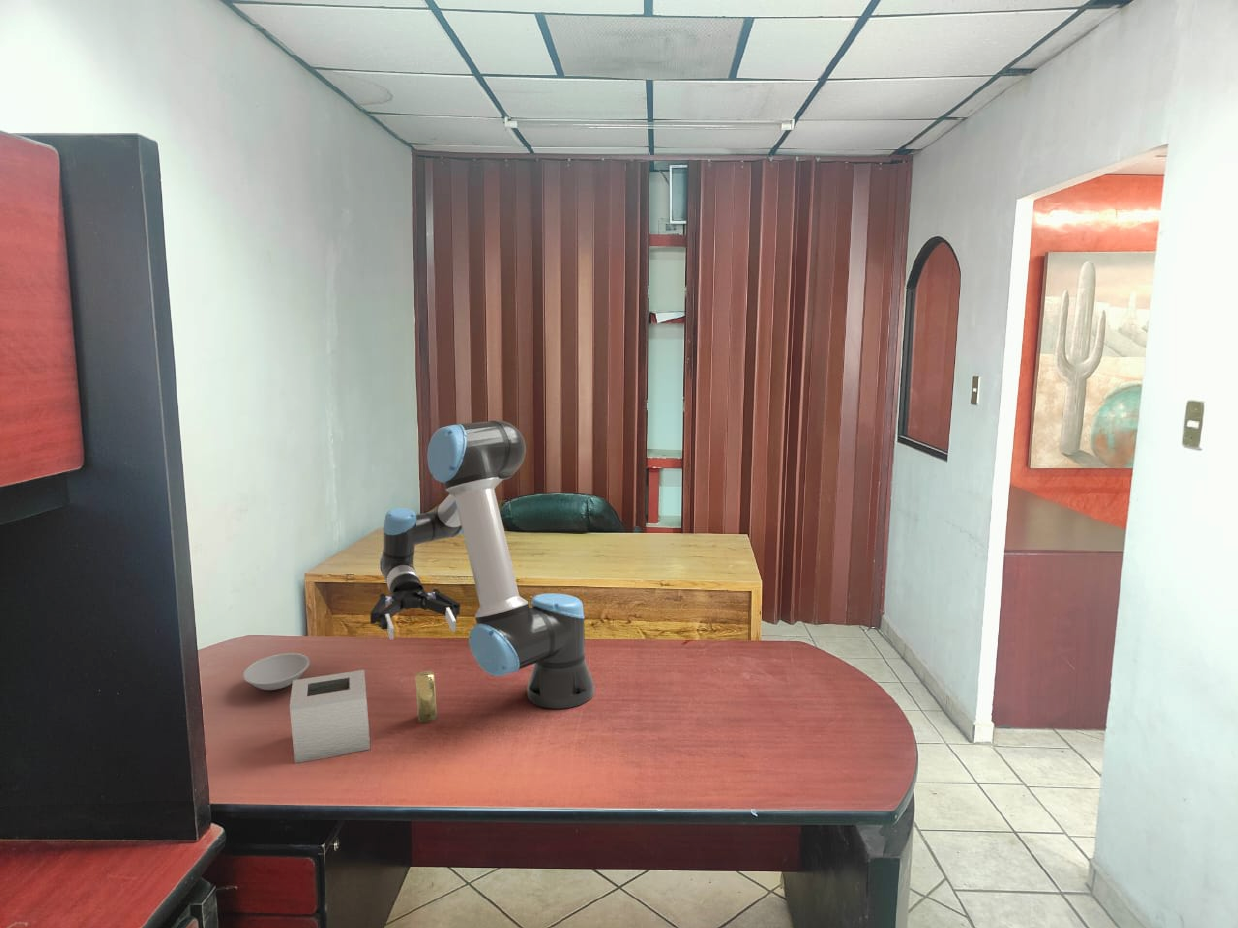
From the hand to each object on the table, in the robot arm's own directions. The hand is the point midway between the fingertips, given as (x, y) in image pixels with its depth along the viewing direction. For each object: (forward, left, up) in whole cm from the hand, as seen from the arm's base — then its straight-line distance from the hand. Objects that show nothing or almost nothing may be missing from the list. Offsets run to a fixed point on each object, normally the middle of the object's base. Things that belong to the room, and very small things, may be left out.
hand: (423, 630), depth 172 cm
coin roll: (-2, +6, -18) cm, 19 cm away
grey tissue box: (+14, +17, -18) cm, 28 cm away
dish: (+39, -7, -18) cm, 44 cm away
